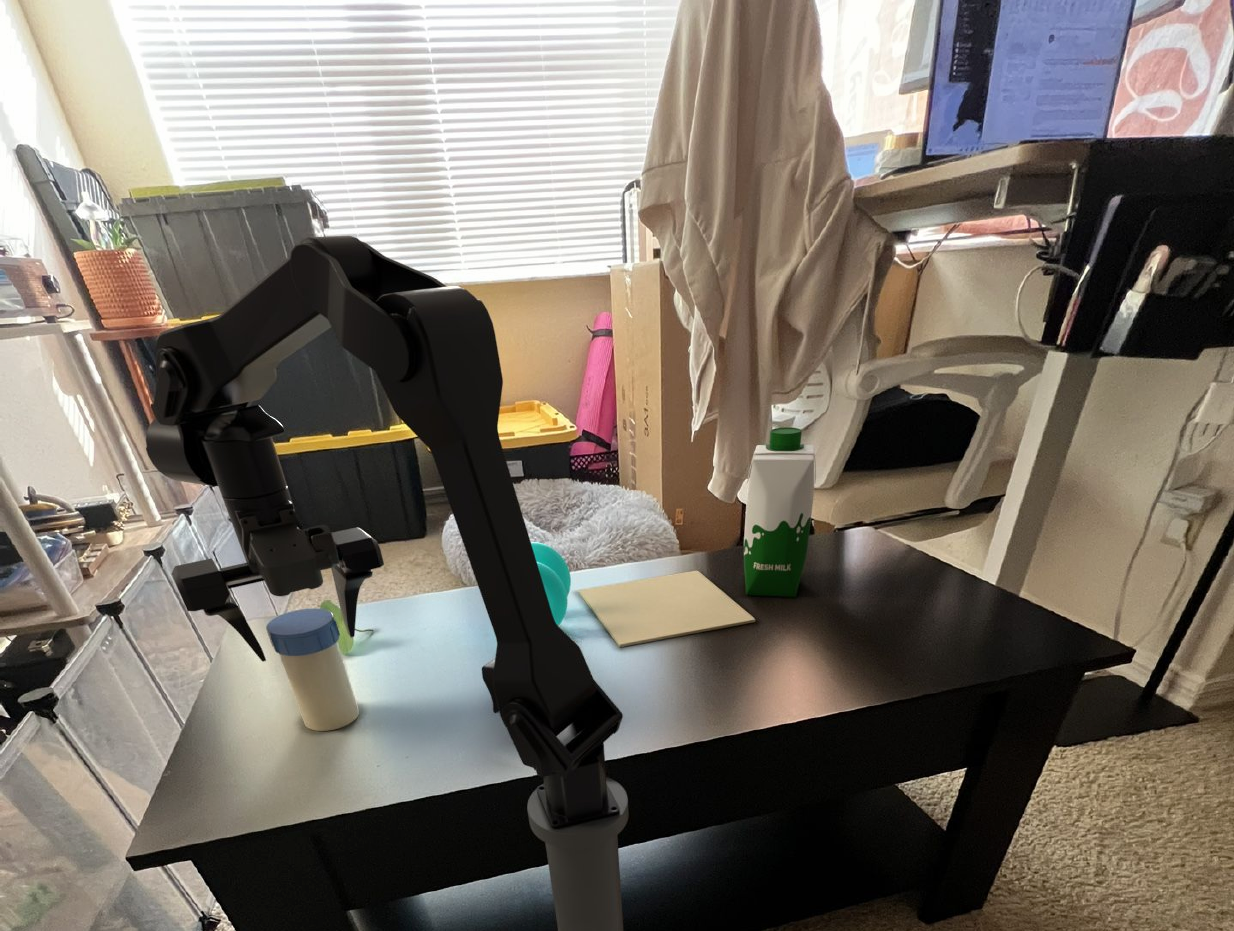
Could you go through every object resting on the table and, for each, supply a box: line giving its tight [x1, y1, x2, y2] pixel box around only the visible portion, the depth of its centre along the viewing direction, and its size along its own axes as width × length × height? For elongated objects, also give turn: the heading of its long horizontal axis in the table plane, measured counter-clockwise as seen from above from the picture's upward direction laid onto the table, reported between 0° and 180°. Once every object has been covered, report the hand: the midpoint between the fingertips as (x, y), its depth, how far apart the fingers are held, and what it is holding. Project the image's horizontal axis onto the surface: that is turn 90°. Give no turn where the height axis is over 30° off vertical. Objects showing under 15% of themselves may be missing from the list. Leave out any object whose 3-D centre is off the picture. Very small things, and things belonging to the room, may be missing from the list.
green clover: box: [319, 599, 374, 656], centre depth 97 cm, size 7×8×7 cm
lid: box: [265, 608, 340, 656], centre depth 75 cm, size 7×7×2 cm
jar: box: [278, 642, 360, 732], centre depth 78 cm, size 6×6×11 cm
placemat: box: [577, 570, 757, 648], centre depth 101 cm, size 20×19×1 cm
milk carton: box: [743, 426, 817, 598], centre depth 99 cm, size 9×9×20 cm
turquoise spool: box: [530, 541, 572, 627], centre depth 95 cm, size 10×10×10 cm
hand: (308, 647), depth 76 cm, fingers open, 9 cm apart
